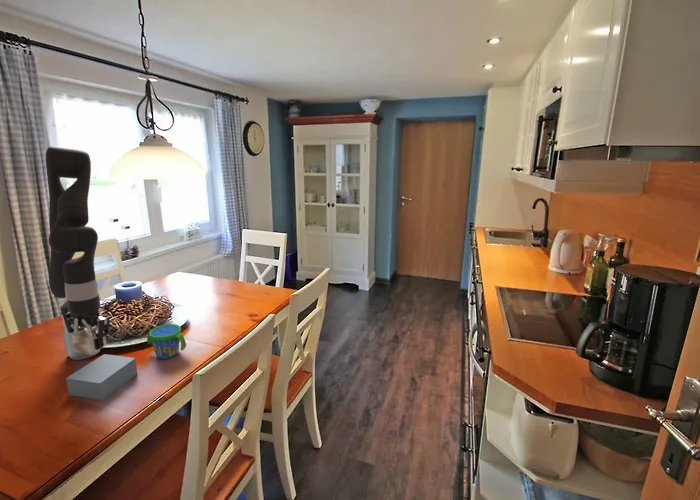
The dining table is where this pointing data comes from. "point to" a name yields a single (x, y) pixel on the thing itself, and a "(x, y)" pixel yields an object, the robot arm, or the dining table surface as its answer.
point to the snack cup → (166, 340)
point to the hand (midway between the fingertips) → (90, 346)
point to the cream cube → (85, 342)
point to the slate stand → (101, 377)
